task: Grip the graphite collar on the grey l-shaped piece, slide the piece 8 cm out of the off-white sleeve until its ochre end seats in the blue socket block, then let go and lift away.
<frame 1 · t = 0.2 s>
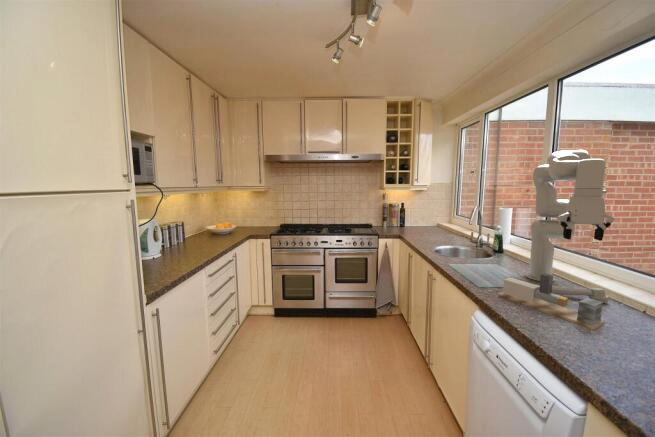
hand: (582, 239, 100), 30 cm above the countertop, tool pointing down, fingers open, 9 cm apart
sleeve: (535, 304, 114), resting on stand
stand: (535, 304, 114), on the countertop
grey l-shaped piece: (536, 284, 113), point 9 cm above the countertop, slide at 0.0 cm
toothbrush head: (568, 298, 120), on the countertop
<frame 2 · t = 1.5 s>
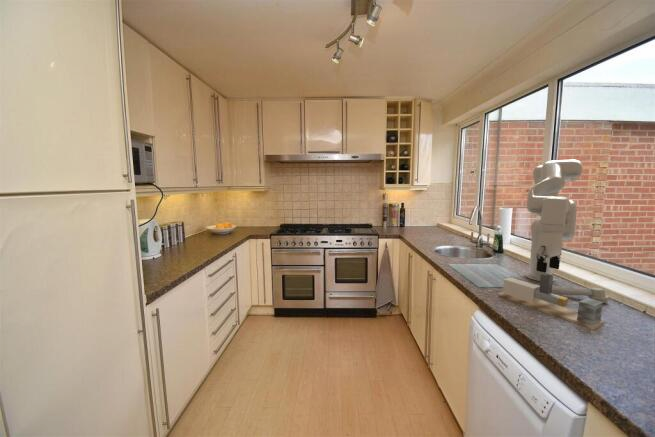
hand: (547, 269, 108), 16 cm above the countertop, tool pointing down, fingers open, 9 cm apart
nothing on the countertop moved.
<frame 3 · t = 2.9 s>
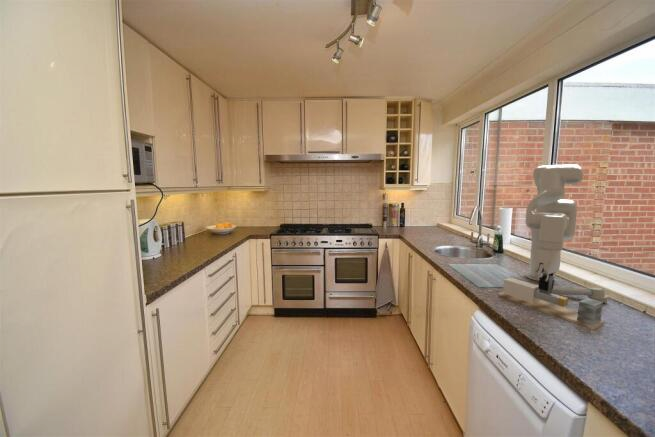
hand: (545, 288, 110), 8 cm above the countertop, tool pointing down, fingers closed on grey l-shaped piece, 3 cm apart
grey l-shaped piece: (536, 284, 113), point 9 cm above the countertop, slide at 0.0 cm, touching gripper
everything else where it was.
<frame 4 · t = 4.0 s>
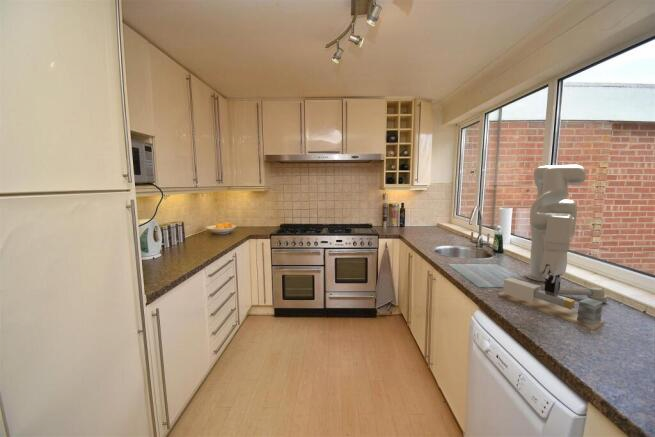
hand: (551, 290, 108), 8 cm above the countertop, tool pointing down, fingers closed on grey l-shaped piece, 3 cm apart
grey l-shaped piece: (541, 286, 111), point 9 cm above the countertop, slide at 2.2 cm, touching gripper
everything else where it was.
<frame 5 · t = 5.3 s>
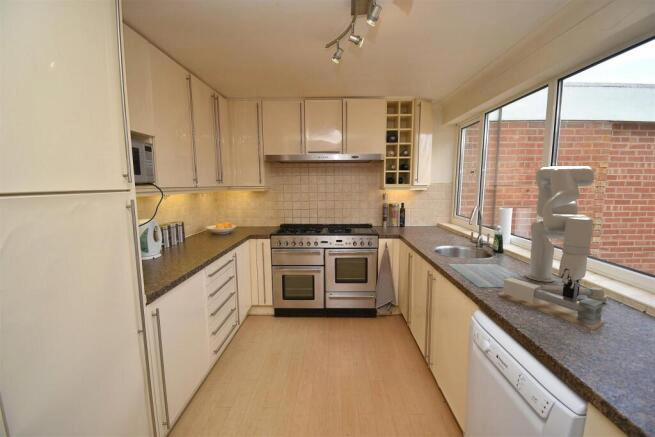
hand: (570, 295, 103), 8 cm above the countertop, tool pointing down, fingers closed on grey l-shaped piece, 3 cm apart
grey l-shaped piece: (559, 291, 106), point 9 cm above the countertop, slide at 8.1 cm, touching gripper
everything else where it was.
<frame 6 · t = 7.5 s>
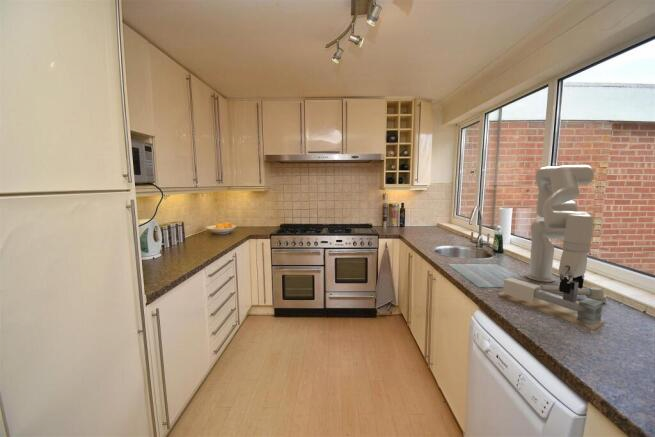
hand: (570, 289, 103), 10 cm above the countertop, tool pointing down, fingers open, 9 cm apart
grey l-shaped piece: (559, 291, 106), point 9 cm above the countertop, slide at 8.0 cm
everything else where it was.
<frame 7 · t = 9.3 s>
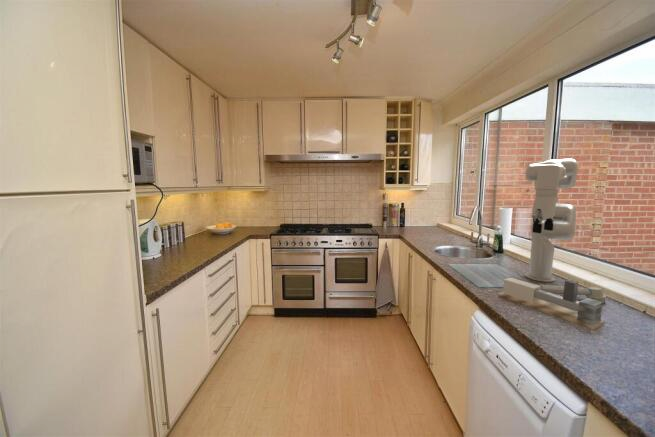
hand: (542, 231, 120), 30 cm above the countertop, tool pointing down, fingers open, 9 cm apart
nothing on the countertop moved.
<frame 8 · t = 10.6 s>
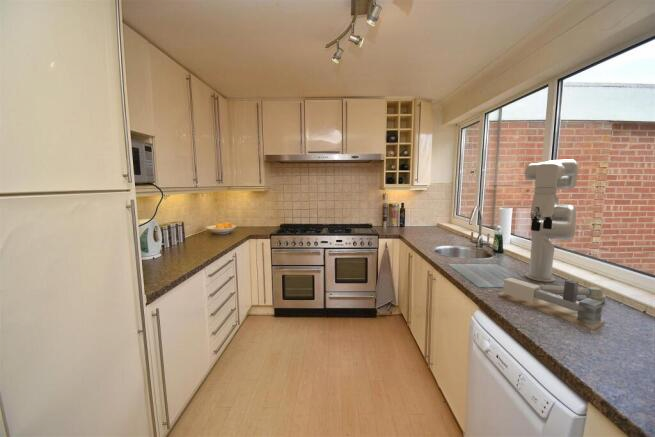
hand: (541, 229, 120), 30 cm above the countertop, tool pointing down, fingers open, 9 cm apart
nothing on the countertop moved.
at the end: grey l-shaped piece slide at 8.0 cm; the gripper is holding nothing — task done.
